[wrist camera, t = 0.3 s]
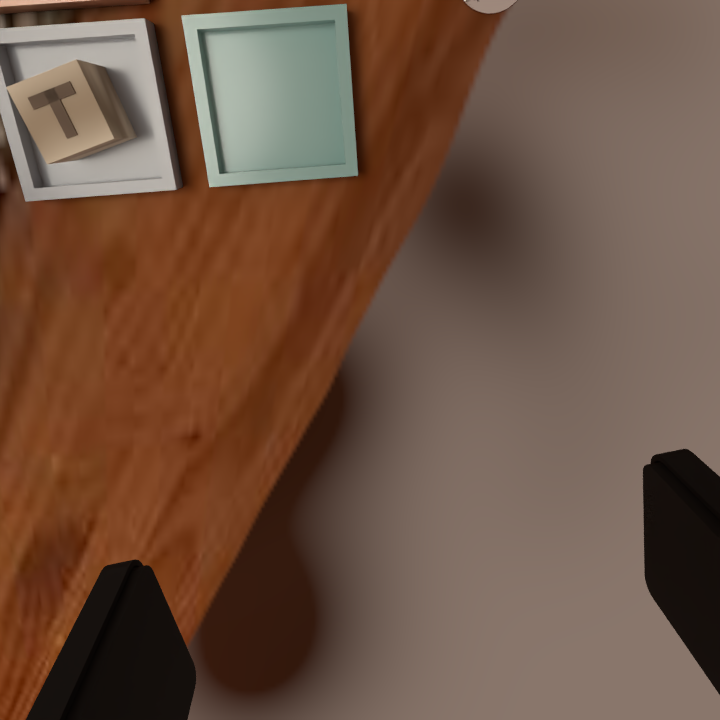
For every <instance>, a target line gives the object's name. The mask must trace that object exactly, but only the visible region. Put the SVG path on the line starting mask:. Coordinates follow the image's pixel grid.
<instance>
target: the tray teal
mask: <svg viewBox="0 0 720 720" xmlns="http://www.w3.org/2000/svg"><path fill="white" fill-rule="evenodd" d="M182 22H183V28H184V34H185V40H186V46H187V52H188V58H189V65H190V71H191V77H192V83H193V89H194V95H195V101H196V107H197V114H198V120H199V126H200V132H201V138H202V144H203V150H204V156H205V162H206V169H207V175H208V181H209V187H218V186H231V185H244V184H257V183H270V182H283V181H296V180H308V179H321V178H334V177H347V176H358V167H357V152H356V138H355V123H354V108H353V94H352V79H351V64H350V49H349V35H348V20H347V5H346V4H339V5H325V6H311V7H297V8H283V9H269V10H255V11H241V12H226V13H212V14H198V15H184V16H182Z"/></svg>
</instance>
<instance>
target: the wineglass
mask: <svg viewBox="0 0 720 720" xmlns="http://www.w3.org/2000/svg"><path fill="white" fill-rule="evenodd" d="M463 1H464V3H465V4H466V5H467V6H469V7H470V8H471V9H473V10H475V11H477V12H479V13H484V14H496V13H499V12H502V11H504V10H506V9H508V8H510V7H511V6H512V5H513V4H515V3H516V1H517V0H463Z"/></svg>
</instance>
